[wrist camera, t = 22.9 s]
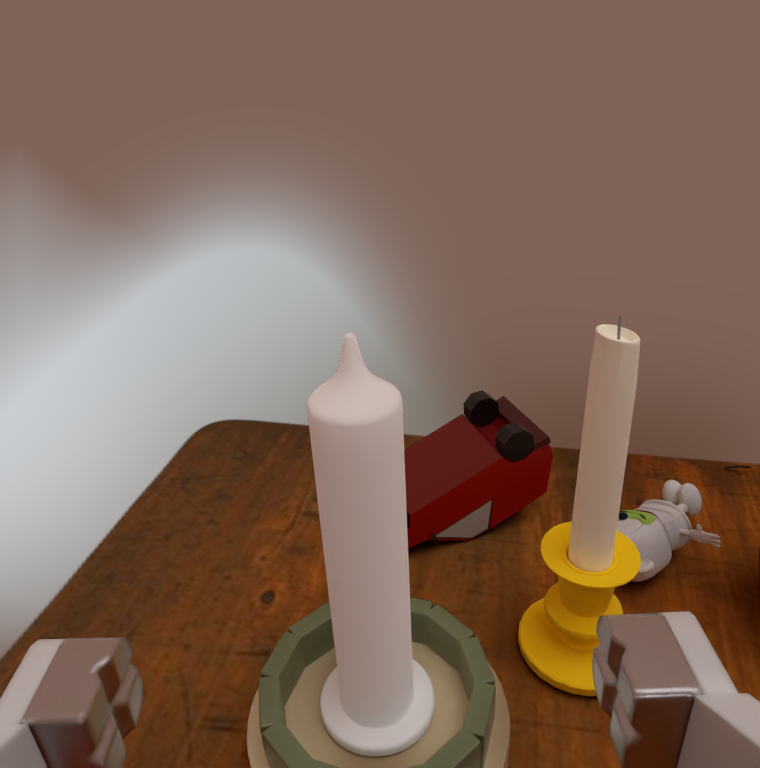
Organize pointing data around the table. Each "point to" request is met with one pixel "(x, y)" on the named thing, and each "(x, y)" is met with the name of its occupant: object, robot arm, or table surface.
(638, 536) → the toy
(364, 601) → the candle
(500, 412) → the toy truck
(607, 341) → the candle
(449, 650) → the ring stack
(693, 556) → the table surface
